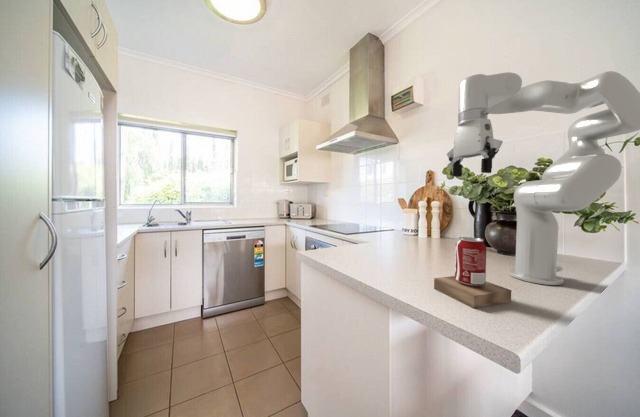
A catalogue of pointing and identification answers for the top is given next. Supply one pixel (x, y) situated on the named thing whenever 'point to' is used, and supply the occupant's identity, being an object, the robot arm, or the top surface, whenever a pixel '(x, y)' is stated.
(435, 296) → the top surface
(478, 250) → the soda can
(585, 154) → the robot arm
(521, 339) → the top surface
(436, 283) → the base block
